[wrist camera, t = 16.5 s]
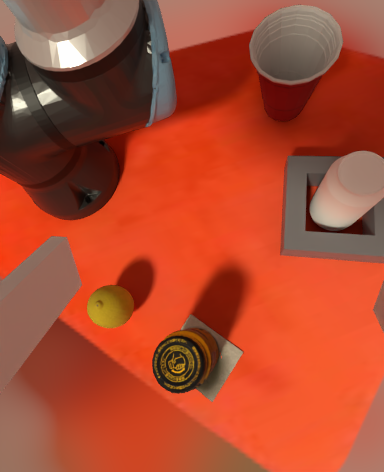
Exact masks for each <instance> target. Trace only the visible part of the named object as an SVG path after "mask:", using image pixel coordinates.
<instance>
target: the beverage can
mask: <svg viewBox="0 0 384 472" xmlns="http://www.w3.org/2000/svg"><path fill="white" fill-rule="evenodd" d="M383 197H384V159H383V158H382V157H381V156H379V155H377V154H375V153H373V152H369V151H356V152H353V153H350V154H348V155H346V156H343V157H341V158H339V159H337V160H336V161H335V162H334V163H333V164H332V165H331V166H330V168H329V170H328V171H327V173H326V175H325V177H324V178H323V180H322V182H321V184H320V185H319V187H318V189H317V191H316V192H315V194H314V196H313V198H312V200H311V202H310V208H309V210H310V215H311V217H312V219H313V221H314V222H315V223H316V224H317V225H318V226H320V227H321V228H323V229H326V230H330V231H339V230H343V229H345V228H347V227H349V226H350V225H352V224H353V223H354V222H355V221H357V220H358V219H359V218H360V217H361V216H363V215H364V214H365V213H366V212H367V211H369V210H370V209H371V208H372V207H373V206H374V205H376V204H377V203H378V202H379V201H380V200H381V199H382V198H383Z"/></svg>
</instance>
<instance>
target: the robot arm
mask: <svg viewBox="0 0 384 472" xmlns="http://www.w3.org/2000/svg"><path fill="white" fill-rule="evenodd" d="M3 2H4V3H5V4H6V5H7V7H8V8H9V9H10V10H11V12H12V13H13V14H14V16H15V17H16V19H15V28H14V31H15V39H16V42H14V43H11V44H5V42H4V40H3V39H2V38H1V36H0V174H2V175H4V176H6V177H8V178H9V179H11V180H13V181H15V182H17V183H18V184H20V185H21V186H22V187H23V188H24V189H25V191H26V192H27V193H28V194H29V196H30V197H31V198H32V200H33V201H34V203H35V204H36V205H37V206H38V207H39V208H40V209H42V210H43V211H44V212H46V213H48V214H50V215H52V216H54V217H56V218H59V219H63V220H77V219H81V218H84V217H87V216H89V215H91V214H93V213H95V212H96V211H98V210H99V209H100V208H102V207H103V206H104V205H105V204H106V203H107V201H108V200H109V199H110V198H111V196H112V195H113V193H114V191H115V189H116V186H117V183H118V179H119V163H118V159H117V157H116V155H115V153H114V151H113V150H112V149H111V147H110V146H109V145H108V144H107V143H106V142H105V140H104V139H107V138H111V137H114V136H117V135H120V134H124V133H127V132H130V131H134V130H137V129H140V128H144V127H149V126H150V125H151V124H152V123H155V122H157V121H160V120H163V119H165V118H167V117H169V116H171V115H172V114H173V112H174V111H175V108H176V104H177V95H176V87H175V80H174V74H173V68H172V63H171V59H170V57H169V49H168V42H167V37H166V32H165V28H164V23H163V19H162V16H161V12H160V8H159V5H158V2H157V0H3ZM81 286H82V283H81V280H80V277H79V274H78V271H77V267H76V264H75V261H74V258H73V255H72V252H71V249H70V246H69V242H68V239H67V237H55V236H51V237H50V238H49V239H48V240H47V241H46V242H45V243H43V244H42V245H41V246H40V247H39V248H38V249H37V250H36V251H35V252H33V253H32V254H31V255H30V256H29V257H28V258H27V259H26V260H25V261H23V262H22V263H21V264H20V265H19V266H18V267H17V268H16V269H15V270H13V271H12V272H11V273H10V274H9V275H8V276H7V277H6V278H5V279H3V280H2V281H1V282H0V394H1V392H2V391H3V390H4V388H5V387H6V385H7V384H8V383H9V381H10V380H11V379H12V378H13V376H14V375H15V373H16V372H17V371H18V370H19V368H20V367H21V366H22V364H23V363H24V362H25V360H26V359H27V357H28V356H29V355H30V354H31V352H32V351H33V350H34V348H35V347H36V345H37V344H38V343H39V342H40V340H41V339H42V337H43V336H44V335H45V334H46V332H47V331H48V330H49V328H50V327H51V326H52V324H53V323H54V322H55V320H56V319H57V318H58V316H59V315H60V314H61V312H62V311H63V310H64V308H65V307H66V306H67V304H68V303H69V302H70V300H71V299H72V298H73V296H74V295H75V294H76V292H77V291H78V290H79V288H80V287H81ZM373 310H374V313H375V315H376V317H377V319H378V321H379V324H380V326H381V328H382V330H383V332H384V281H383V284H382V287H381V289H380V292H379V295H378V298H377V301H376V303H375V306H374V309H373Z"/></svg>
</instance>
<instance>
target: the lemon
mask: <svg viewBox="0 0 384 472" xmlns="http://www.w3.org/2000/svg"><path fill="white" fill-rule="evenodd" d="M87 311H88V315H89V317H90V318H91V320H92V321H93V322H94V323H96V324H97V325H99V326H101V327H104V328H115V327H119V326H121V325H123V324H125V323H126V322H127V321H128V320H129V319H130V317H131V316H132V313H133V311H134V300H133V298H132V296H131V294H130V293H129V292H128V291H127V290H126V289H125V288H123V287H120V286H116V285H108V286H103V287H101V288H99V289H97V290H96V291H95V292H94V293H93V294H92V295H91V296H90V298H89V300H88V304H87Z"/></svg>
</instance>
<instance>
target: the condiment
mask: <svg viewBox="0 0 384 472" xmlns="http://www.w3.org/2000/svg"><path fill="white" fill-rule="evenodd" d="M220 352H221V355H220ZM242 354H243V352H242V351H241V350H240V349H238V348H237V347H236V346H234V345H233V344H231V343H230V342H229V341H227V340H226V339H224V338H223V337H222V336H220V335H219V334H218V333H216V332H215V331H214V330H212V329H211V328H209V327H208V326H207V325H205V324H204V323H203V322H201V321H200V320H198V319H197V318H196V317H194V316H193V315H190V316H189V318H188V319H187V321H186V322H185V324H184V325H183V327H182V328H181V330H180V331H176V332H173V333H172V334H170V335H168V336H167V337H166V338H165V339H164V340H163V341H162V342H161V343H160V344H159V345H158V347H157V348H156V350H155V352H154V356H153V360H152V366H153V373H154V376H155V378H156V379H157V381H158V383H159V384H160V385H161V386H162V387H163V388H165V389H166V390H168V391H170V392H171V393H178V394H179V393H185V392H188V391H190V390H193V389H197V390H198V391H200V392H201V393H202V394H203V395H204V396H205V397H207V398H208V399H209V400H210V401H212V402H213V400H214V399H215V397H216V395H217V394H218V392H219V391H220V389H221V387H222V386H223V384H224V382H225V381H226V379H227V378H228V376H229V374H230V372H231V371H232V370H233V368H234V366H235V365H236V363H237V362H238V360H239V358H240V357H241V355H242ZM221 356H222V359H221Z"/></svg>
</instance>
